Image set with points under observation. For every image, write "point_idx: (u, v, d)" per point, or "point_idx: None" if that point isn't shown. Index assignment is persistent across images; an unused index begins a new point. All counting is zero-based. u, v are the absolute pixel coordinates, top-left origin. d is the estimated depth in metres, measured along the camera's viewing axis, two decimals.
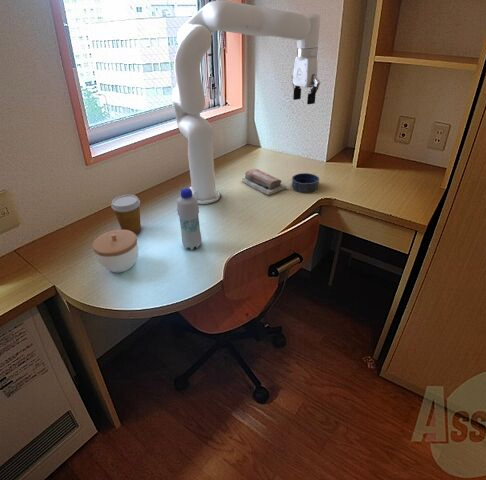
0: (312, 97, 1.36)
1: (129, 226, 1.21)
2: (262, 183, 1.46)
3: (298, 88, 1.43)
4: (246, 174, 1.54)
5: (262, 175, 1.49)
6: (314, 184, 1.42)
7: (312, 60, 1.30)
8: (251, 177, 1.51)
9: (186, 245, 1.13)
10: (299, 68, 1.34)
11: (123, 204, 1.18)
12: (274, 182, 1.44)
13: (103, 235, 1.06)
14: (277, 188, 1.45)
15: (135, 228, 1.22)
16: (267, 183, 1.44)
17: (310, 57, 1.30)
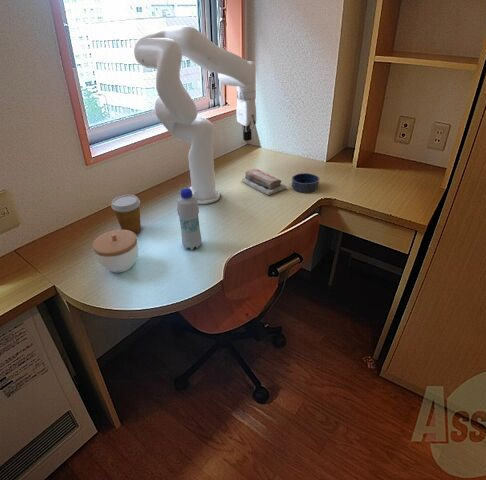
0: (248, 135, 1.52)
1: (129, 226, 1.21)
2: (262, 183, 1.46)
3: None
4: (246, 174, 1.54)
5: (262, 175, 1.49)
6: (314, 184, 1.42)
7: (250, 102, 1.42)
8: (251, 177, 1.51)
9: (186, 245, 1.13)
10: (240, 108, 1.47)
11: (123, 204, 1.18)
12: (274, 182, 1.44)
13: (103, 235, 1.06)
14: (277, 188, 1.45)
15: (135, 228, 1.22)
16: (267, 183, 1.44)
17: (248, 100, 1.42)
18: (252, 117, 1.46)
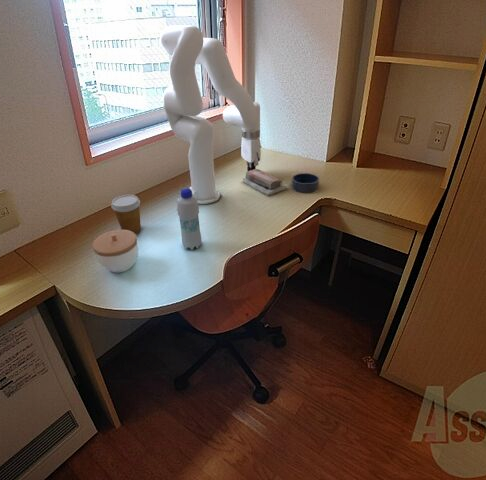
0: None
1: (129, 226, 1.21)
2: (262, 183, 1.46)
3: None
4: (246, 174, 1.54)
5: (262, 175, 1.49)
6: (314, 184, 1.42)
7: (255, 141, 1.47)
8: (251, 177, 1.51)
9: (186, 245, 1.13)
10: (245, 146, 1.51)
11: (123, 204, 1.18)
12: (274, 182, 1.44)
13: (103, 235, 1.06)
14: (277, 188, 1.45)
15: (135, 228, 1.22)
16: (267, 183, 1.44)
17: (253, 138, 1.47)
18: (256, 154, 1.50)
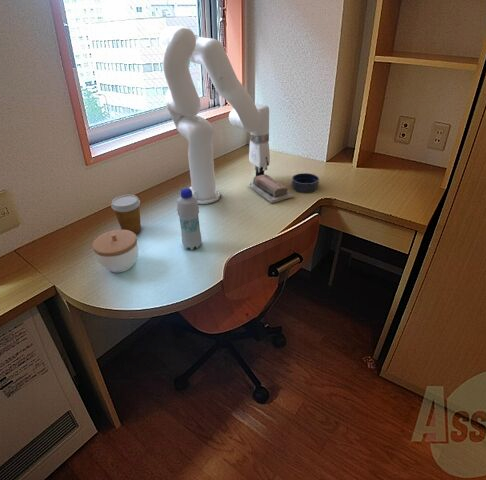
0: None
1: (129, 226, 1.21)
2: (268, 190, 1.41)
3: None
4: (254, 179, 1.49)
5: (269, 181, 1.43)
6: (314, 184, 1.42)
7: (264, 145, 1.41)
8: (258, 183, 1.46)
9: (186, 245, 1.13)
10: (253, 150, 1.46)
11: (123, 204, 1.18)
12: (279, 190, 1.38)
13: (103, 235, 1.06)
14: (283, 196, 1.39)
15: (135, 228, 1.22)
16: (272, 190, 1.38)
17: (262, 142, 1.41)
18: (265, 159, 1.45)
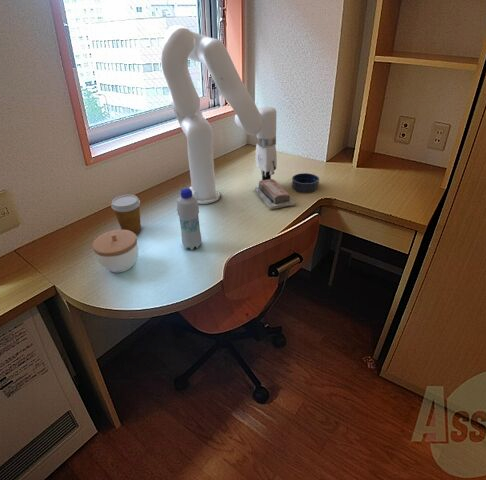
0: None
1: (129, 226, 1.21)
2: (269, 195, 1.37)
3: None
4: (259, 183, 1.45)
5: (273, 187, 1.39)
6: (314, 184, 1.42)
7: (270, 149, 1.37)
8: (262, 187, 1.42)
9: (186, 245, 1.13)
10: (260, 154, 1.42)
11: (123, 204, 1.18)
12: (280, 196, 1.33)
13: (103, 235, 1.06)
14: (284, 203, 1.34)
15: (135, 228, 1.22)
16: (273, 196, 1.34)
17: (269, 146, 1.37)
18: (272, 163, 1.41)
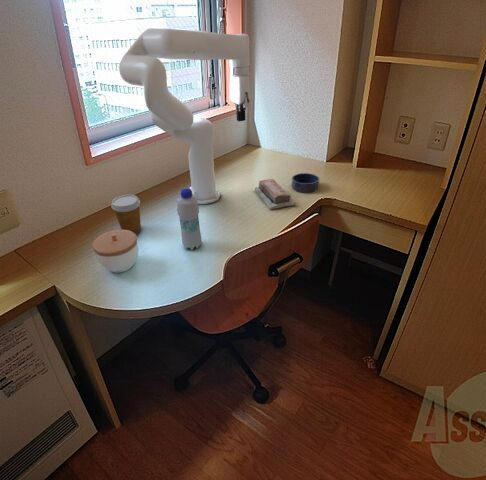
0: (241, 115, 1.43)
1: (129, 226, 1.21)
2: (269, 195, 1.37)
3: None
4: (259, 183, 1.45)
5: (273, 187, 1.39)
6: (314, 184, 1.42)
7: (243, 78, 1.33)
8: (262, 187, 1.42)
9: (186, 245, 1.13)
10: (233, 86, 1.38)
11: (123, 204, 1.18)
12: (280, 196, 1.33)
13: (103, 235, 1.06)
14: (284, 203, 1.34)
15: (135, 228, 1.22)
16: (273, 196, 1.34)
17: (241, 75, 1.33)
18: (246, 95, 1.37)
